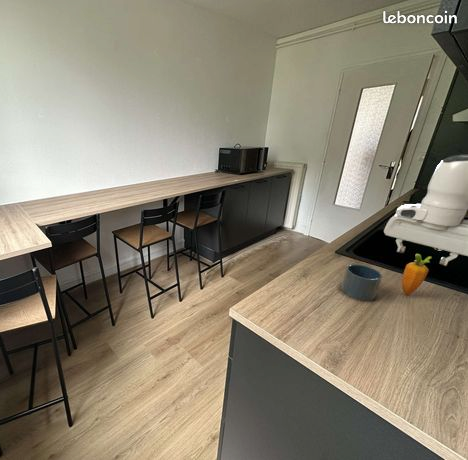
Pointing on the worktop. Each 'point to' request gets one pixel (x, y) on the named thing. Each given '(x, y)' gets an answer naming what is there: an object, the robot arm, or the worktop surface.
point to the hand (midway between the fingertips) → (420, 257)
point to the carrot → (414, 274)
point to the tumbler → (361, 282)
